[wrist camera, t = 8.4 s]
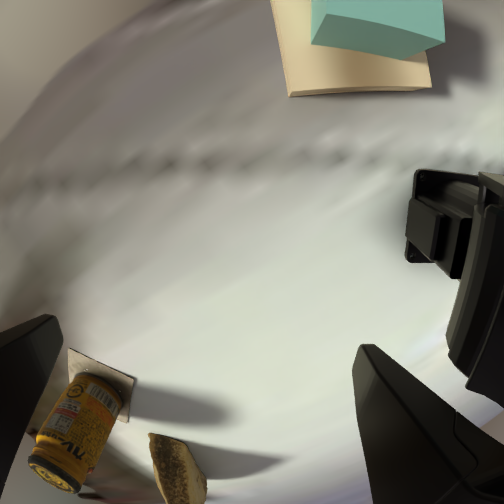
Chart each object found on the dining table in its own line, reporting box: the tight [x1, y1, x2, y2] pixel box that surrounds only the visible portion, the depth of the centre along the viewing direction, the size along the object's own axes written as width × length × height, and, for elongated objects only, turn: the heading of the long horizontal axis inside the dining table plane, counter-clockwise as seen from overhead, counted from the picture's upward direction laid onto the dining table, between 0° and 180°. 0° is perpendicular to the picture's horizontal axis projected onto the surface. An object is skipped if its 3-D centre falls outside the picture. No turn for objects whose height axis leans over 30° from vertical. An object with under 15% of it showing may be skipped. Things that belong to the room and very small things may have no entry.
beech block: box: [270, 0, 432, 97], centre depth 14 cm, size 8×8×4 cm
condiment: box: [28, 348, 134, 494], centre depth 23 cm, size 7×8×12 cm
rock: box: [148, 433, 207, 504], centre depth 29 cm, size 11×9×10 cm
